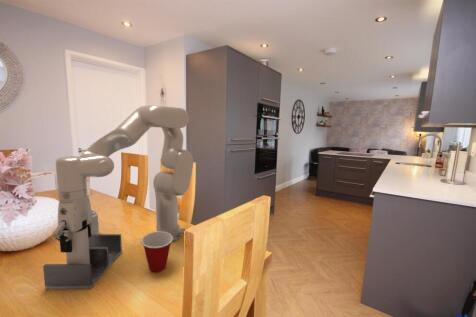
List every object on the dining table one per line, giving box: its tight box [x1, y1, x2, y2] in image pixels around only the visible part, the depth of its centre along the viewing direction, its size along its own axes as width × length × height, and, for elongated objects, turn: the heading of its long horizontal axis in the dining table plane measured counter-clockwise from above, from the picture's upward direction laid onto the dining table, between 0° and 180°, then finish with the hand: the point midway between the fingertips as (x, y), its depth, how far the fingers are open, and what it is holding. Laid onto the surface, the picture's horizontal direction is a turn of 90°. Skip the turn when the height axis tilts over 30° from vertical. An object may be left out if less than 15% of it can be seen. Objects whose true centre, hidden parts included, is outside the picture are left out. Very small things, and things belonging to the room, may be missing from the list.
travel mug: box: [64, 219, 90, 264], centre depth 74 cm, size 6×7×20 cm
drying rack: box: [42, 233, 123, 290], centre depth 80 cm, size 14×21×8 cm, turn 3°
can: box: [91, 209, 100, 234], centre depth 103 cm, size 8×8×12 cm
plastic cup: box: [141, 231, 173, 274], centre depth 81 cm, size 11×11×12 cm
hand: (77, 243), depth 74 cm, fingers open, 9 cm apart
